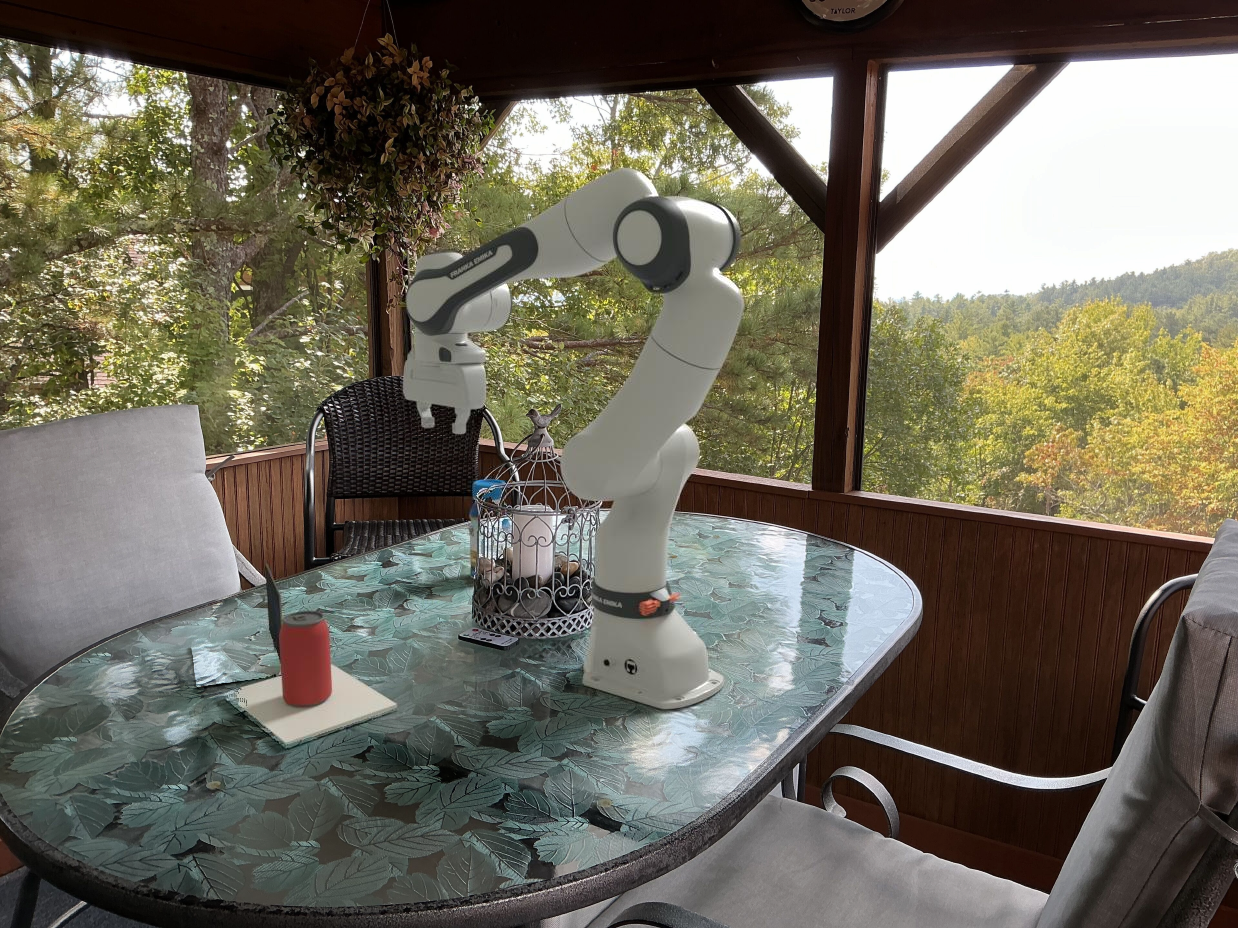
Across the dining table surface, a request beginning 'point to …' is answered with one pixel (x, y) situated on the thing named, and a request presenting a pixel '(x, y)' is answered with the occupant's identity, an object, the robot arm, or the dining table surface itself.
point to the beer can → (305, 659)
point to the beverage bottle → (473, 516)
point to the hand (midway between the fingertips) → (443, 430)
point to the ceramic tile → (312, 707)
